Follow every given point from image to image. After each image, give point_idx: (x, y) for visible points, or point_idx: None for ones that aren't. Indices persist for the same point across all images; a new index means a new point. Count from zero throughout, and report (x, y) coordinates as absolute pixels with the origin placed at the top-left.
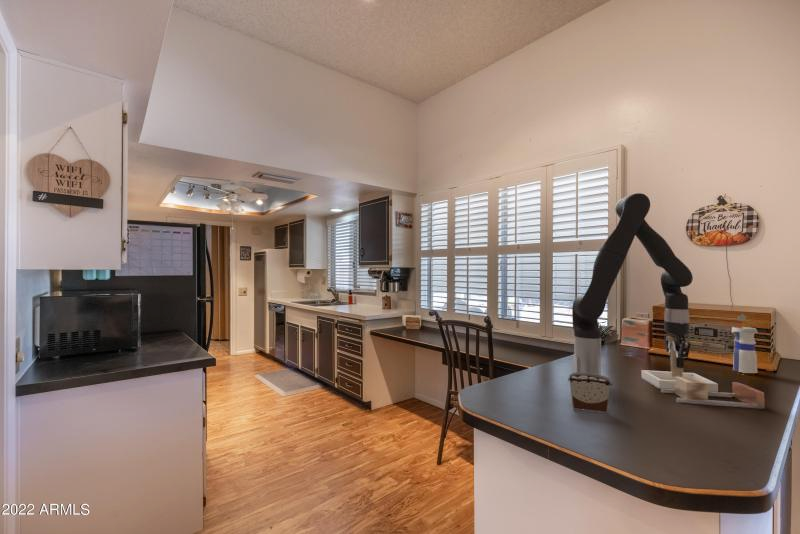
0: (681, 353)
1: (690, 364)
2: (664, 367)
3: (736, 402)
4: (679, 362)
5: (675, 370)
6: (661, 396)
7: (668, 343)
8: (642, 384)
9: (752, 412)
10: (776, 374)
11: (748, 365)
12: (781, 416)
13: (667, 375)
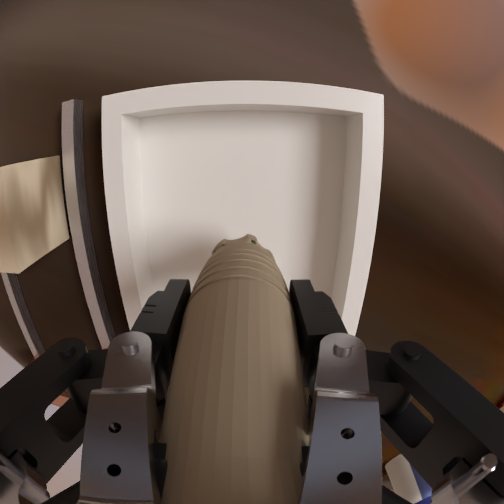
0: (29, 367)
1: (491, 388)
2: (500, 317)
3: (18, 315)
4: (140, 313)
5: (207, 261)
6: (30, 90)
7: (377, 465)
8: (204, 43)
9: (3, 314)
10: (384, 481)
11: (396, 479)
12: (15, 355)
13: (346, 245)
